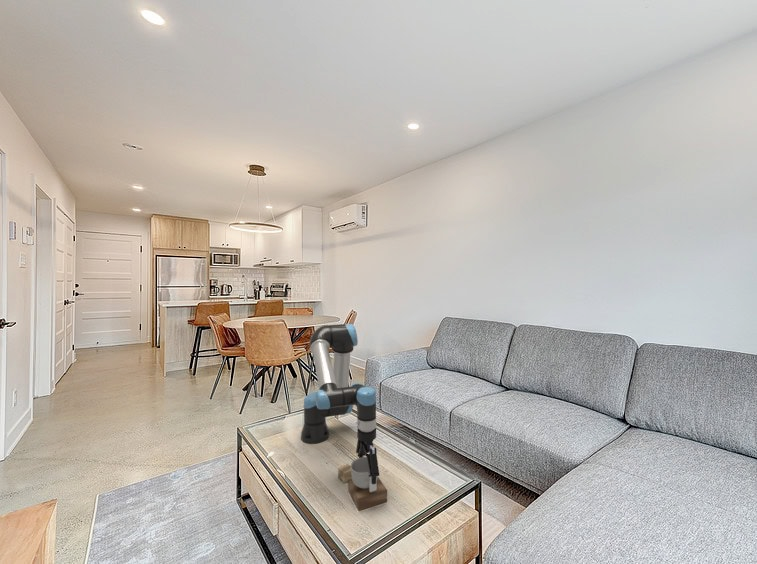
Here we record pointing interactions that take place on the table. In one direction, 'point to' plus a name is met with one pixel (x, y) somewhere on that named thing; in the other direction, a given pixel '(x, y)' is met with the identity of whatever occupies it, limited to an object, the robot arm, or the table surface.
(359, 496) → the pedestal block
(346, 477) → the oak cube
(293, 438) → the table surface
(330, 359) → the robot arm
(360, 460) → the teacup
